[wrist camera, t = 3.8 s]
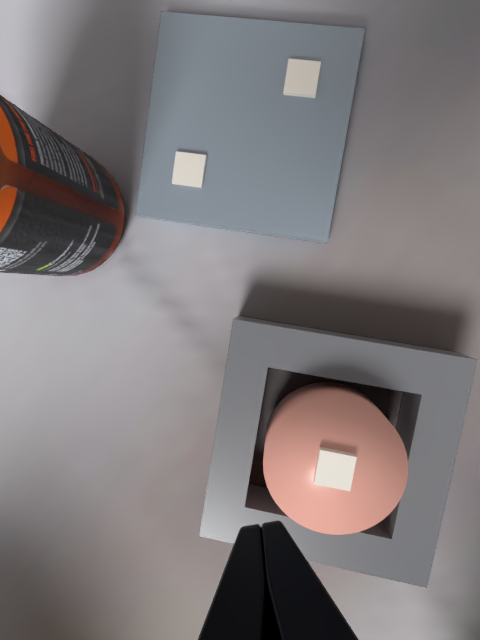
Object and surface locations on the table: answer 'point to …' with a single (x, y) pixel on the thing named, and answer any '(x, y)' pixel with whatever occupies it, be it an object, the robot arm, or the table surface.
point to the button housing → (413, 427)
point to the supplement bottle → (52, 201)
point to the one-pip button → (333, 459)
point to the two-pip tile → (248, 124)
